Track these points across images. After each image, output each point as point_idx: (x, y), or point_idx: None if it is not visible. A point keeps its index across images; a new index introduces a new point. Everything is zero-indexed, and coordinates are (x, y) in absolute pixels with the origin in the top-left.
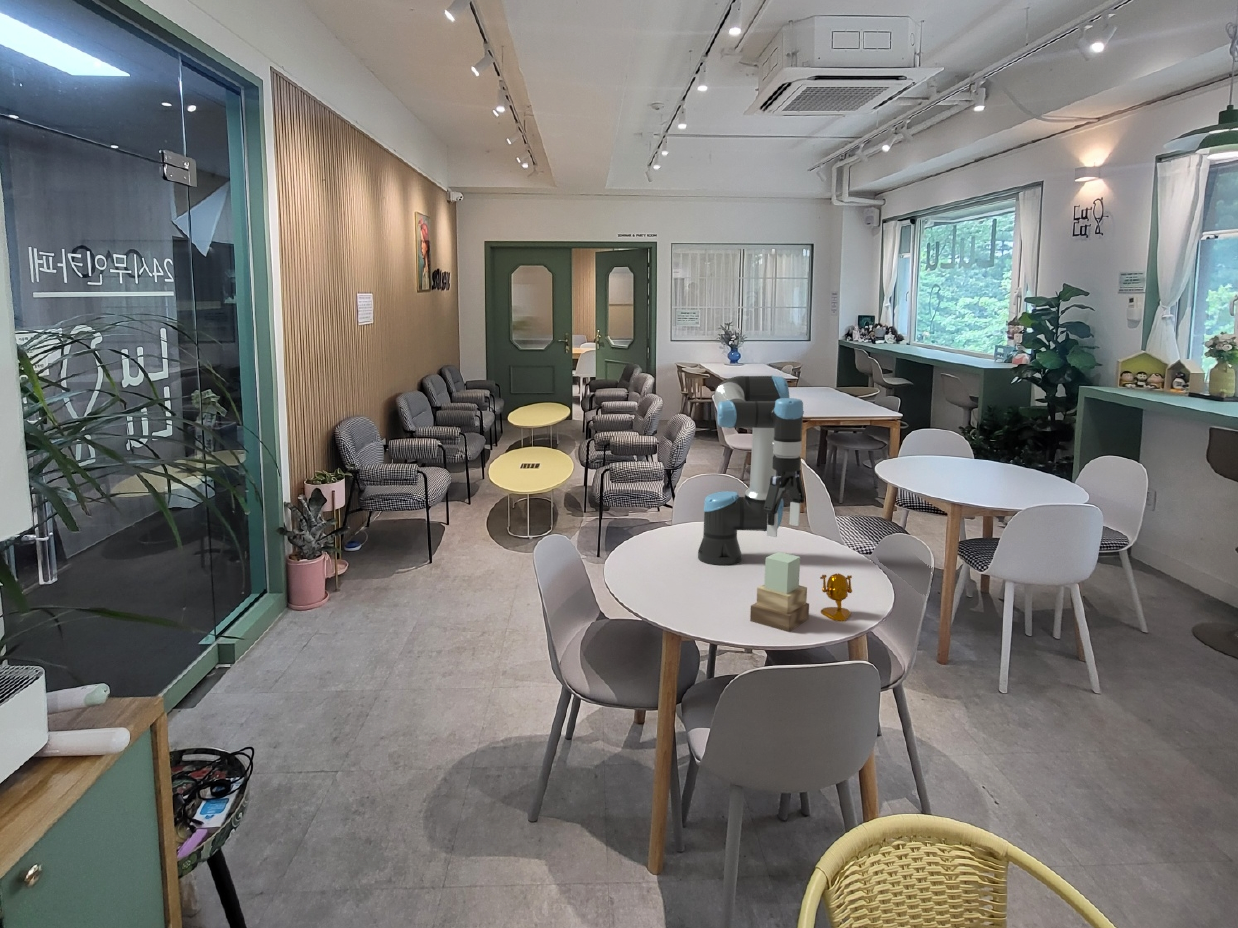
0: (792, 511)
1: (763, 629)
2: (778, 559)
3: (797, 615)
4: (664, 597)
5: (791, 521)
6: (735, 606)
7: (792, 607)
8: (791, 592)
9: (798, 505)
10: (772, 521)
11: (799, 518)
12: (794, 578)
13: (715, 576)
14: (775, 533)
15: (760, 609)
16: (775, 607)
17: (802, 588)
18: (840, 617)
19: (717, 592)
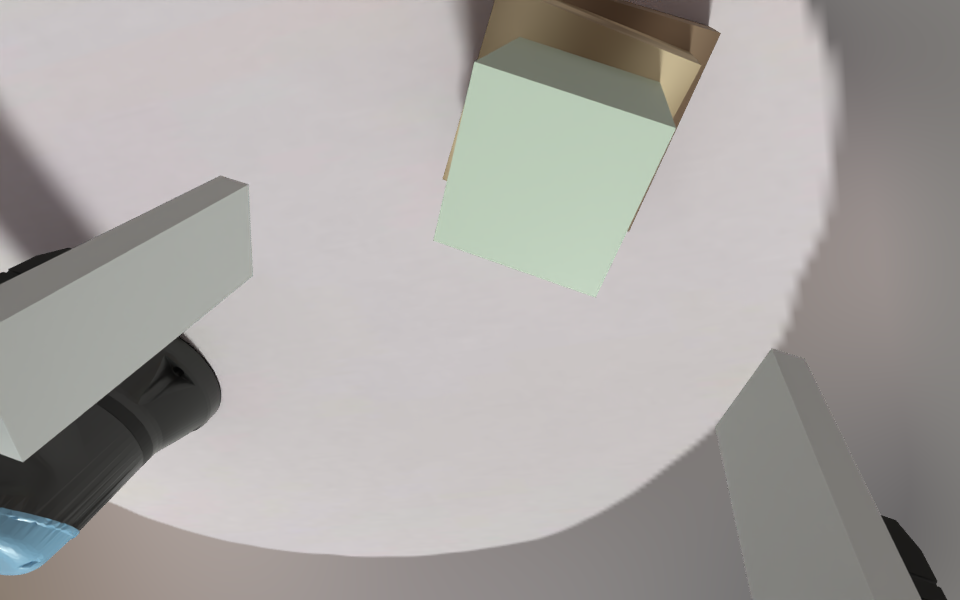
0: (134, 340)
1: (704, 140)
2: (608, 213)
3: (629, 4)
4: (522, 456)
5: (229, 275)
6: (506, 275)
7: (645, 35)
8: (621, 60)
9: (4, 332)
10: (934, 586)
11: (161, 209)
12: (570, 64)
13: (295, 364)
14: (817, 393)
15: (648, 186)
16: None
17: (529, 9)
18: None
19: (414, 342)
